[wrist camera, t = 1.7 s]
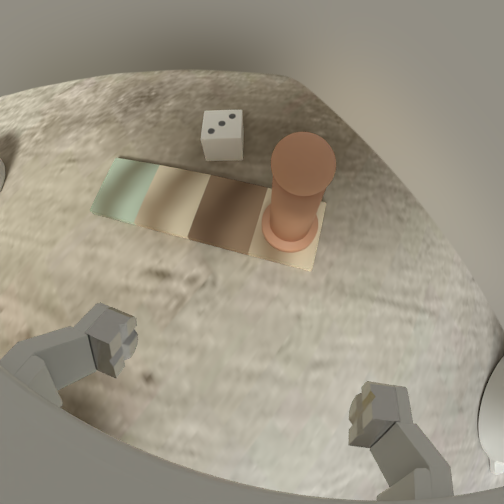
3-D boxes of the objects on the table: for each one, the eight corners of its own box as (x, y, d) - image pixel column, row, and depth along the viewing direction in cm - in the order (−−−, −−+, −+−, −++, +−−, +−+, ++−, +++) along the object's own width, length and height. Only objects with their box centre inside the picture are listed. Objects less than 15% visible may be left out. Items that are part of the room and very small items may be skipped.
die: (243, 132, 34) (242, 109, 30) (242, 160, 33) (240, 137, 29) (209, 133, 34) (204, 110, 30) (206, 161, 33) (200, 138, 29)
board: (324, 206, 31) (326, 202, 30) (310, 271, 29) (312, 269, 28) (118, 161, 33) (115, 157, 32) (92, 213, 31) (89, 210, 30)
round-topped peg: (321, 209, 30) (354, 125, 18) (310, 259, 28) (345, 192, 16) (269, 196, 30) (274, 105, 18) (255, 244, 29) (252, 169, 17)
